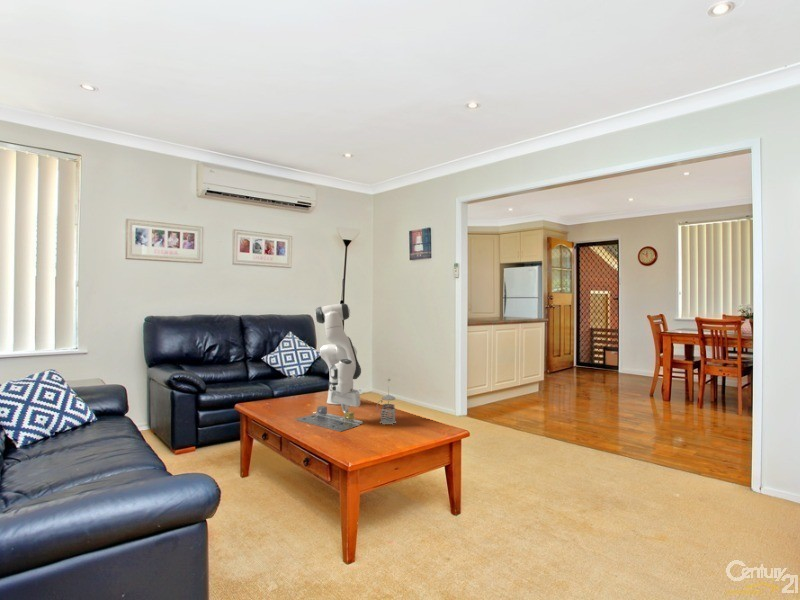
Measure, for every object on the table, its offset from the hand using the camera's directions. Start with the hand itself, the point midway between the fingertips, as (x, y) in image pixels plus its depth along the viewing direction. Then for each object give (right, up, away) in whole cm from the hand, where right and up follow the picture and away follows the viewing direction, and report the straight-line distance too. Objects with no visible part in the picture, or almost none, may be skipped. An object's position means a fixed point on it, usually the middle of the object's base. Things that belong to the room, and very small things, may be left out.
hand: (345, 412), depth 264 cm
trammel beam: (-5, -5, 0) cm, 7 cm away
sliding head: (+1, -3, -5) cm, 6 cm away
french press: (+24, -5, -2) cm, 24 cm away
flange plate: (-10, -5, -6) cm, 12 cm away
